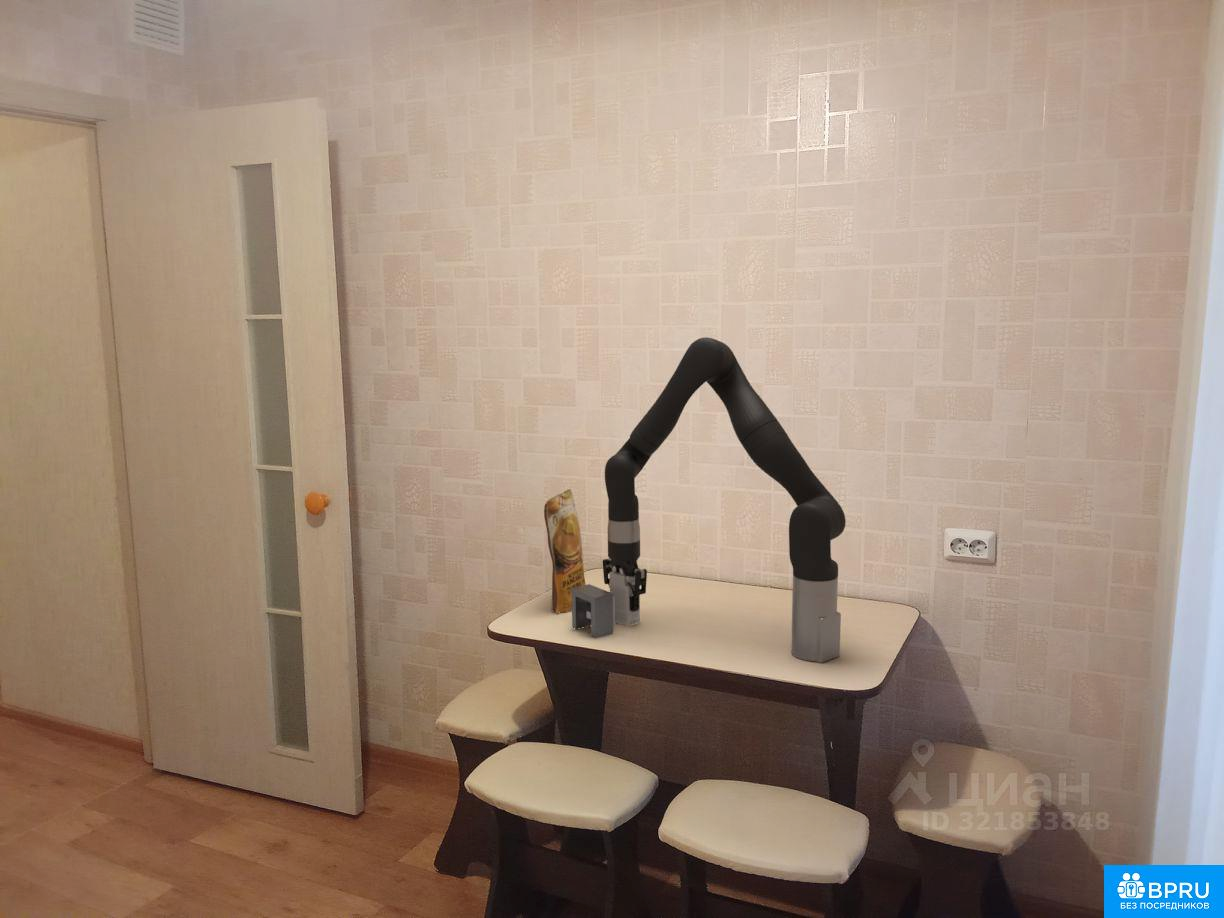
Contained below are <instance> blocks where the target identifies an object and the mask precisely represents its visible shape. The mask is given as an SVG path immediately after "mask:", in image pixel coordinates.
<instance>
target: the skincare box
mask: <svg viewBox="0 0 1224 918" xmlns="http://www.w3.org/2000/svg"><path fill="white" fill-rule="evenodd" d="M608 575H609V578H610V588H609V592H610V593H613V596H614V597H615V622H616V623H615V624H619V625H621V626H625V627H632V626H633V625H636V623H637V624H639V623H641V607H640V606H641V601H640V600H641V598H640V596H641V595H640V596H639V609H638V611H634V612H632V611H630V599H629V596H630V594H629V587H628V586H627V587H625V584H624V579H625V578H624V576H621V574H620V573H614V572H610V573H609V574H608ZM626 578H627V581H628V582H634V581H635V577H633V576H631V577H629V576H627V577H626ZM625 582H626V581H625ZM632 588H633V591H634V590H635V586H634V585H633V586H632Z"/></svg>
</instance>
